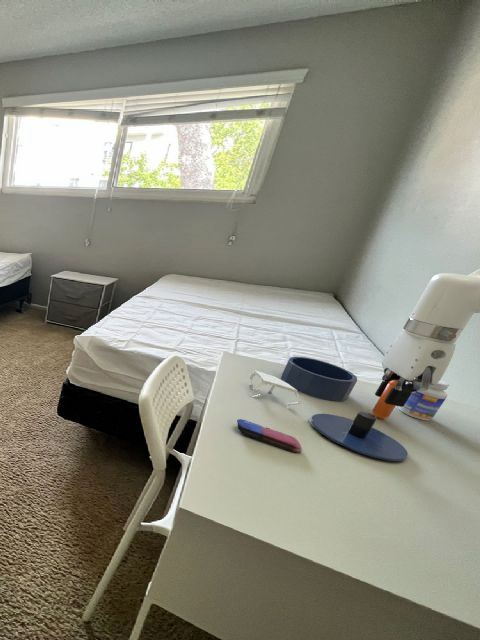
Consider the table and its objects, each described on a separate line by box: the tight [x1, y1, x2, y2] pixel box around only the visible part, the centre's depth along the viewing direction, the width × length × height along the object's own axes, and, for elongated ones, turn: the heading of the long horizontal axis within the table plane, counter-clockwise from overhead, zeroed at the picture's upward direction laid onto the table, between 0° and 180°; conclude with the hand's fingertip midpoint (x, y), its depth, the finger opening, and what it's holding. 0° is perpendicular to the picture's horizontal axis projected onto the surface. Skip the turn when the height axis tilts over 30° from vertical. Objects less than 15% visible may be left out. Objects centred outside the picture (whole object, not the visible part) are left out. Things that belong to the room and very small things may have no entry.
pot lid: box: [310, 411, 409, 462], centre depth 75 cm, size 15×15×6 cm
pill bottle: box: [398, 379, 450, 421], centre depth 85 cm, size 5×5×10 cm
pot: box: [280, 356, 358, 402], centre depth 95 cm, size 14×14×6 cm
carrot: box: [371, 380, 399, 420], centre depth 83 cm, size 3×3×10 cm
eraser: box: [236, 418, 303, 454], centre depth 73 cm, size 11×4×2 cm, turn 56°
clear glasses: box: [249, 369, 302, 410], centre depth 89 cm, size 12×8×5 cm
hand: (388, 400), depth 83 cm, fingers closed on carrot, 2 cm apart
